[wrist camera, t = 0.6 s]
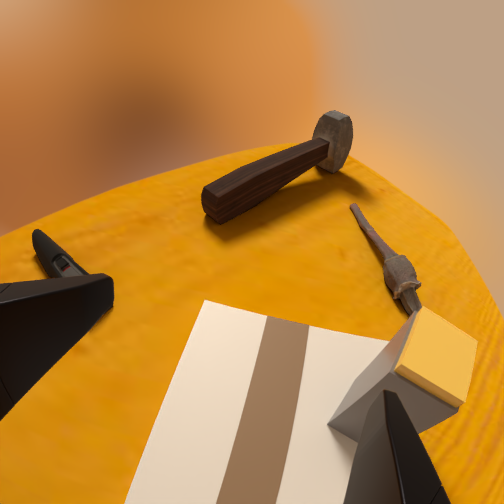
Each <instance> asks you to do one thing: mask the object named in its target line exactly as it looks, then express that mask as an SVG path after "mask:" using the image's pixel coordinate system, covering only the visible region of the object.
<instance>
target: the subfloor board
mask: <svg viewBox="0 0 504 504" xmlns="http://www.w3.org/2000/svg"><path fill="white" fill-rule="evenodd" d="M389 342H390V341H384V340H378V339H373V338H367V337H362V336H357V335H352V334H347V333H342V332H337V331H332V330H327V329H322V328H318V327H313V326H309V325H306V324H301V323H297V322H292V321H288V320H284V319H279V318H275V317H271V316H265V315H261V314H257V313H253V312H249V311H245V310H241V309H237V308H233V307H229V306H225V305H222V304H218V303H214V302H210V301H207V300H205V301H204V303H203V306H202V308H201V311H200V313H199V315H198V318H197V320H196V322H195V325H194V327H193V330H192V332H191V334H190V337H189V339H188V342H187V344H186V346H185V349H184V351H183V354H182V356H181V359H180V361H179V363H178V366H177V368H176V371H175V373H174V376H173V378H172V381H171V383H170V386H169V388H168V391H167V393H166V396H165V398H164V401H163V403H162V406H161V408H160V411H159V413H158V416H157V418H156V421H155V424H154V426H153V429H152V431H151V434H150V436H149V439H148V442H147V444H146V447H145V449H144V452H143V455H142V457H141V460H140V463H139V465H138V468H137V471H136V473H135V476H134V479H133V481H132V484H131V487H130V490H129V492H128V495H127V498H126V501H125V503H124V504H343V502H344V498H345V494H346V490H347V486H348V481H349V477H350V472H351V468H352V463H353V459H354V455H355V452H356V449H357V445H358V443H357V442H355V441H354V440H352V439H350V438H349V437H347V436H345V435H344V434H342V433H340V432H338V431H337V430H335V429H334V428H332V427H330V426H329V425H327V423H328V422H329V420H330V419H331V417H332V416H333V414H334V413H335V411H336V410H337V408H338V406H339V405H340V403H341V402H342V400H343V399H344V397H345V395H346V394H347V392H348V390H349V389H350V387H351V385H352V384H353V382H354V380H355V379H356V378H357V377H358V376H359V375H360V374H361V373H362V372H363V371H364V369H365V368H366V367H367V366H368V365H369V364H370V363H371V362H372V361H373V360H374V359H375V358H376V356H377V355H378V354H379V353H380V352H381V351H382V350H383V349H384V347H385V346H386V345H387V344H388V343H389Z"/></svg>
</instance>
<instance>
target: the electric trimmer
mask: <svg viewBox="0 0 504 504" xmlns="http://www.w3.org/2000/svg"><path fill="white" fill-rule="evenodd" d="M32 242H33V247H34V250H35V252H36V254H37V256H38V258H39V259H40V261H41V263H42V265H43V267H44V269H45V271H46V272H47V274H48V275H49V276H50V277H53V278H62V277H71V276H81V275H90V274H88V273H87V272H86V271H85V270H84V269H83V268H82V267H80V266H79V265H78V264H77V263H76V262H75V261H74V260H73V258H72V257H71V256H70V255H69V254H67V253H66V252H65V251H64V250H63V249H62V248H61V247H60V246H58V245H57V244H56V243H55V242H54V241H53V240H52V239H51V238H50V237H48V236H47V235H46V234H45V233H43V232H42V231H41V230H39V229H35V230H34V231H33V233H32ZM112 307H113V303H112V305H111V306H110V307H109V308H108V309H107V311H108V310H109V309H110V308H112ZM107 311H106V312H107ZM106 312H105V313H106Z"/></svg>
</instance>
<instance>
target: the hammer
mask: <svg viewBox="0 0 504 504" xmlns="http://www.w3.org/2000/svg"><path fill="white" fill-rule="evenodd" d="M352 127H353V126H352V121H351V119H350V117H349V116H348V115H345V114H343V113H340V112H338V111H335V110H334V111H329V112H327V113H325V114H324V115H323V116H322V117H321V118H320V119H319V121H318V123H317V125H316V127H315V130H314V133H313V137H312V140H310V141H307V142H304V143H302V144H299V145H296V146H293V147H291V148H288V149H285V150H283V151H280V152H277V153H275V154H272V155H270V156H267V157H265V158H262V159H260V160H257V161H255V162H252V163H250V164H247V165H245V166H242V167H240V168H238V169H236V170H234V171H232V172H231V173H229V174H227V175H225V176H223V177H221V178H219V179H218V180H216V181H214V182H212V183H210V184H208V185H207V186H205V187H204V188H203V191H202V194H201V201H202V207H203V210H204V212H205V213H206V214H208V215H209V216H210V217H211V218H213V219H214V220H215V221H217V222H218V223H219V224H223V223H225V222H227V221H229V220H231V219H233V218H235V217H237V216H238V215H240V214H242V213H244V212H245V211H247V210H249V209H250V208H252V207H254V206H255V205H257V204H258V203H260V202H261V201H263V200H264V199H266V198H267V197H269V196H270V195H272V194H273V193H275V192H276V191H277V190H279V189H280V188H282V187H283V186H285V185H286V184H288V183H289V182H291V181H292V180H294V179H295V178H297V177H298V176H300V175H301V174H303V173H304V172H306V171H307V170H309V169H310V168H312V167H314V166H315V165H317V166H319V167H321V168H323V169H325V170H326V171H328V172H330V173H332V174H333V173H335V172H337V171H338V170H339V169H341V168H342V167H343V165H344V163H345V161H346V159H347V156H348V154H349V151H350V149H351V145H352V139H353V128H352Z"/></svg>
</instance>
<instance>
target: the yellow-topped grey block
mask: <svg viewBox="0 0 504 504" xmlns="http://www.w3.org/2000/svg"><path fill="white" fill-rule="evenodd" d="M477 342H478V341H477V340H475V339H474V338H472V337H471V336H469V335H468V334H466V333H465V332H463V331H462V330H460V329H459V328H457V327H455V326H454V325H452V324H451V323H449V322H448V321H446V320H445V319H443V318H441V317H440V316H438V315H437V314H435V313H433V312H432V311H430V310H429V309H427V308H426V307H424V306H423V307H422V308H421V309H420V311H419V312H417V311H414V312H413V314H412V315H411V316H410V317H409V319H408V320H407V321H406V322H405V324H404V325H403V326H402V327H401V329H400V330H399V331H398V332H397V333H396V335H395V336H394V337H393V338H392V339H391V340H390V342H389V343H388V344H387V345H386V346H385V347H384V349H383V350H382V351H381V352H380V353H379V354H378V355H377V356H376V358H375V359H374V360H373V361H372V362H371V363H370V364H369V365H368V366H367V367H366V368H365V369H364V371H363V372H362V373H361V374H360V375H359V376H358V377H357V378H356V379H355V380H354V382H353V384H352V385H351V387H350V389H349V390H348V392H347V394H346V395H345V397H344V399H343V400H342V402H341V403H340V405H339V406H338V408H337V410H336V411H335V413H334V414H333V416H332V417H331V419H330V420H329V422H328V423H327V425H329V426H330V427H332V428H334V429H335V430H337V431H338V432H340V433H342V434H344V435H345V436H347V437H349V438H350V439H352V440H354V441H355V442H357V443H358V442H359V439H360V436H361V432H362V429H363V425H364V422H365V418H366V415H367V412H368V409H369V407H370V406H371V404H372V403H373V402H374V400H375V399H376V397H377V396H378V394H379V393H380V392H381V391H382V390H383V389H387V390H390V391H394V392H396V393H397V394H398V396H399V398H400V400H401V402H402V404H403V406H404V408H405V410H406V411H407V413H408V415H409V417H410V419H411V421H412V423H413V425H414V427H415V429H416V431H417V433H418V434H419V433H421V432H423V431H425V430H427V429H429V428H431V427H433V426H434V425H436V424H438V423H440V422H442V421H444V420H445V419H447V418H449V417H451V416H452V415H454V414H456V413H457V412H458V409H459V406H460V405H462V404H463V403H465V401H466V397H467V393H468V389H469V385H470V380H471V376H472V371H473V366H474V360H475V355H476V349H477Z"/></svg>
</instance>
